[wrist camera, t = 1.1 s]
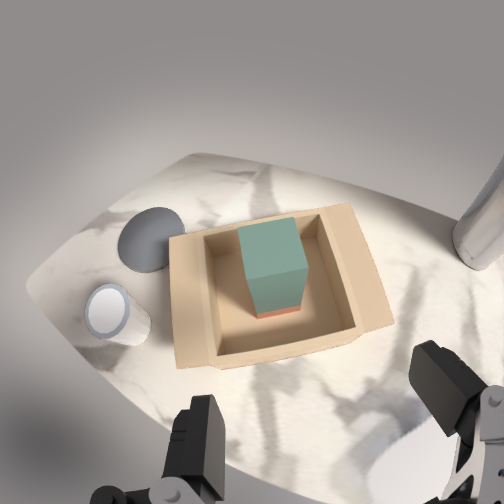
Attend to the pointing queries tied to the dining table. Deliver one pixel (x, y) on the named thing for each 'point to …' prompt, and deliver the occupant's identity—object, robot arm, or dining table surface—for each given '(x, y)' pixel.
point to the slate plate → (149, 239)
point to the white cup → (116, 316)
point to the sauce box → (274, 266)
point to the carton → (281, 326)
